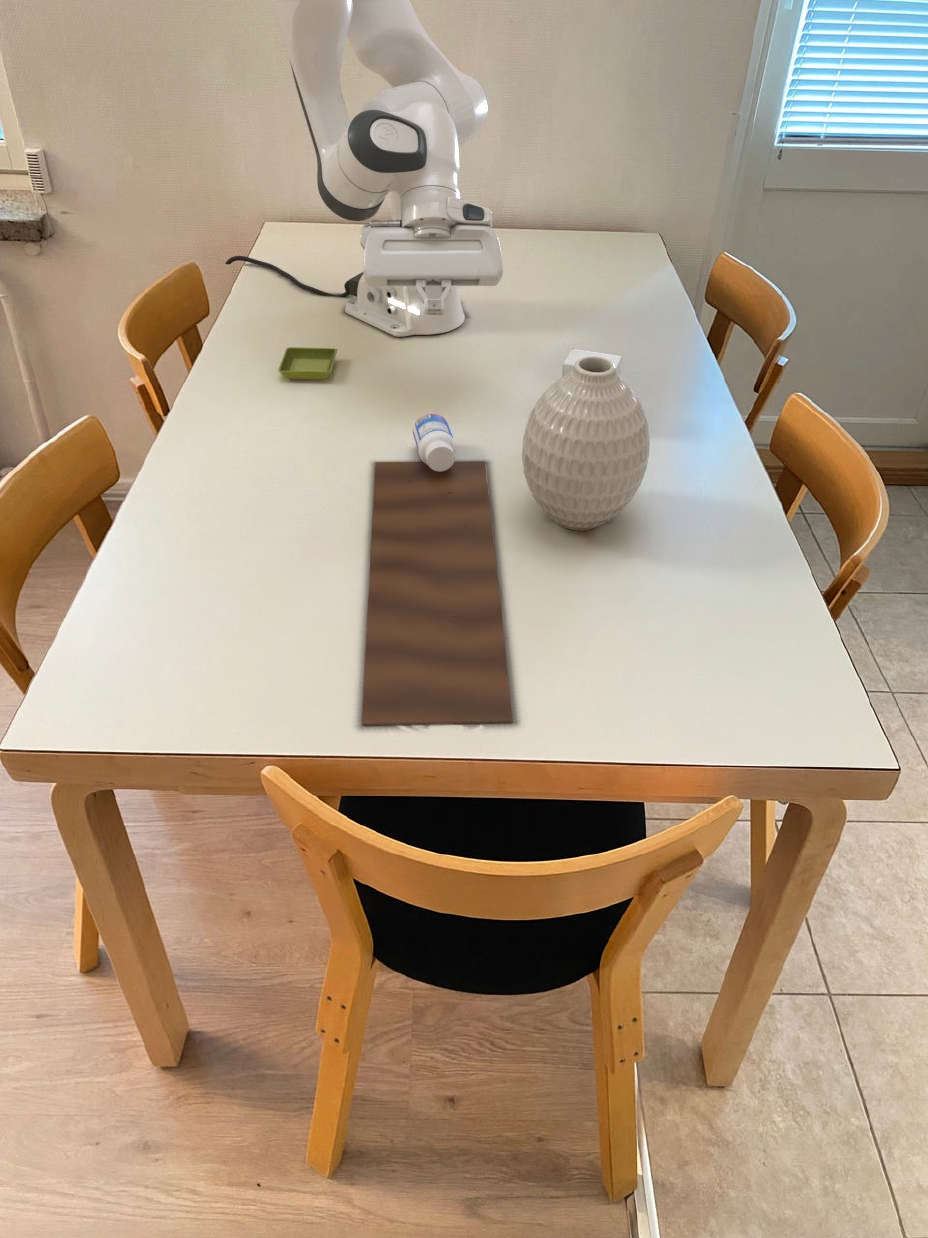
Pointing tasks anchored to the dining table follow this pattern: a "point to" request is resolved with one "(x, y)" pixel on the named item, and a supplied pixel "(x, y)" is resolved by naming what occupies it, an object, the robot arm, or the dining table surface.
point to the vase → (586, 446)
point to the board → (433, 600)
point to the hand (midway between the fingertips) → (434, 313)
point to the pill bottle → (434, 441)
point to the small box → (579, 354)
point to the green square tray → (307, 363)
